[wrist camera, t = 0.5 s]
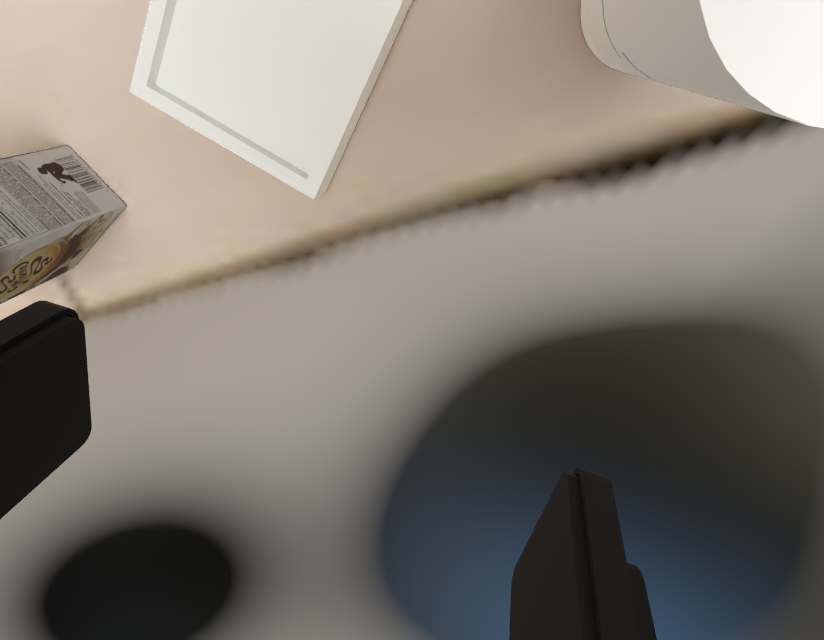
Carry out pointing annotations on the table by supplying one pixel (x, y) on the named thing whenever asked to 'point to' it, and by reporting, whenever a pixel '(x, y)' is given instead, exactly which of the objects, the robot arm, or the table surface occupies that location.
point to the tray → (268, 76)
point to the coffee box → (48, 216)
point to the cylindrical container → (719, 49)
